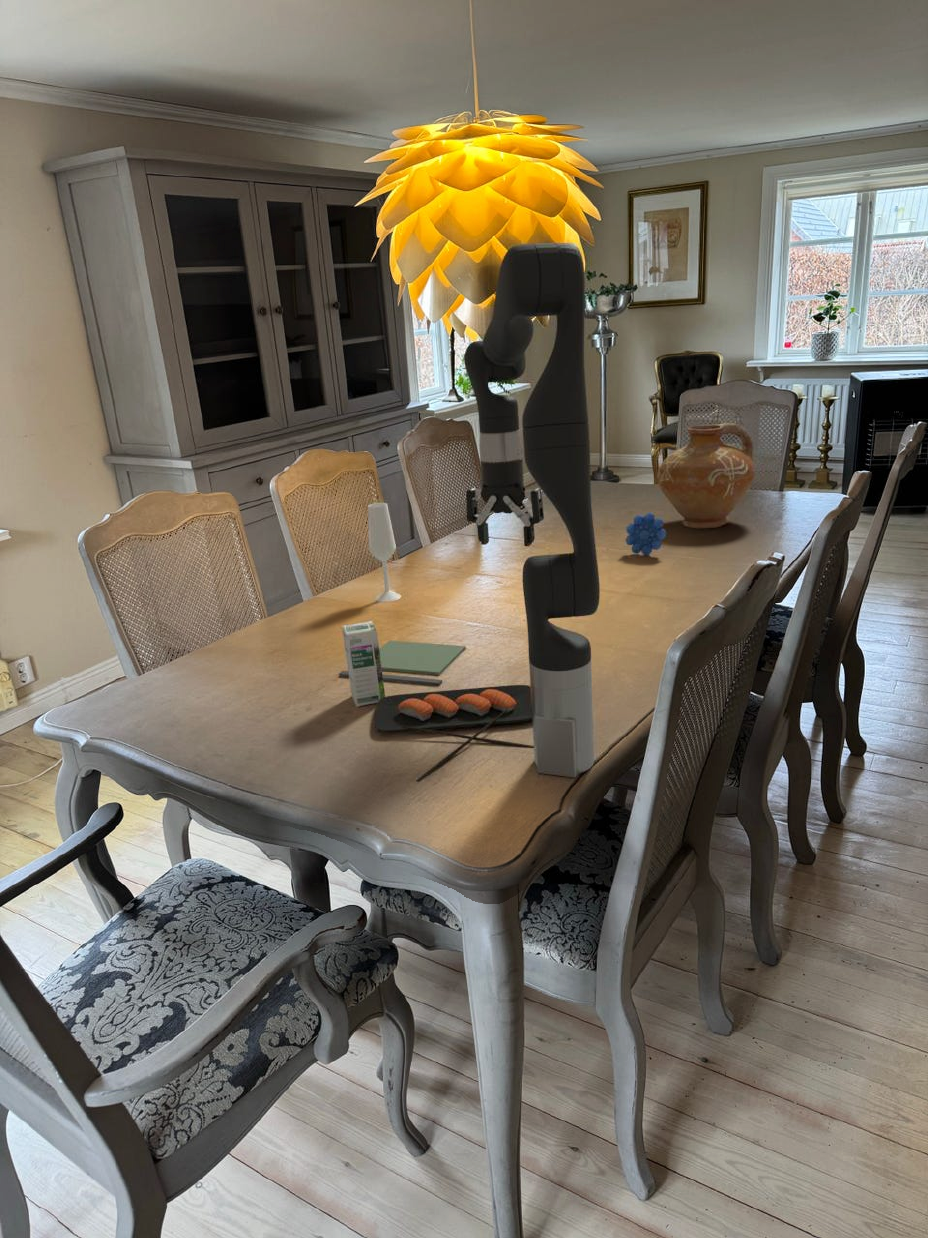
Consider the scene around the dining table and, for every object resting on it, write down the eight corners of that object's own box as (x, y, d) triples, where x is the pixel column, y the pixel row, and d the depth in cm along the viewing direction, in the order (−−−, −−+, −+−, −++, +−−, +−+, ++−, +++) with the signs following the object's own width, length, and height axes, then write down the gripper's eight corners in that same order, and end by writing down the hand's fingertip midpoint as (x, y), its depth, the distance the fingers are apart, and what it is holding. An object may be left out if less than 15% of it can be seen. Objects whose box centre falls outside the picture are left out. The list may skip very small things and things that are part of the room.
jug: (650, 516, 277) (649, 422, 267) (739, 510, 276) (742, 415, 265) (666, 538, 251) (666, 435, 241) (765, 532, 249) (769, 427, 239)
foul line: (439, 685, 164) (438, 683, 164) (339, 676, 173) (338, 673, 173) (442, 682, 166) (442, 679, 166) (342, 673, 174) (342, 670, 174)
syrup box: (355, 708, 158) (345, 634, 153) (350, 695, 164) (341, 624, 159) (386, 702, 159) (377, 629, 155) (380, 690, 165) (371, 619, 160)
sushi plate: (534, 692, 160) (533, 673, 159) (555, 774, 132) (554, 751, 130) (378, 705, 160) (376, 686, 158) (366, 789, 131) (363, 767, 130)
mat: (439, 675, 169) (439, 672, 169) (359, 667, 176) (358, 665, 176) (465, 648, 181) (465, 646, 181) (389, 643, 188) (389, 640, 188)
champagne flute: (397, 601, 215) (386, 507, 207) (371, 601, 217) (360, 508, 208) (404, 593, 221) (394, 501, 213) (379, 593, 223) (368, 502, 215)
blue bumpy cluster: (671, 552, 237) (672, 510, 233) (662, 559, 231) (662, 515, 227) (632, 549, 243) (631, 507, 239) (622, 555, 238) (621, 513, 234)
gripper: (456, 460, 153) (463, 548, 159) (531, 459, 147) (536, 551, 153) (472, 453, 160) (479, 538, 165) (545, 452, 154) (549, 540, 159)
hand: (506, 544), depth 159 cm, fingers open, 8 cm apart
